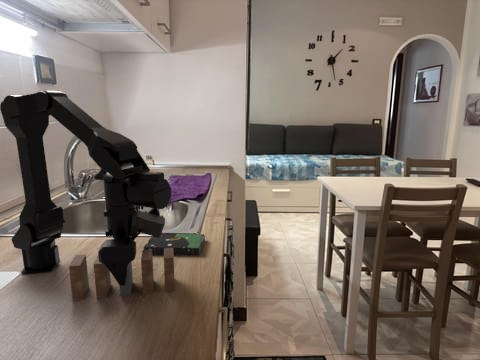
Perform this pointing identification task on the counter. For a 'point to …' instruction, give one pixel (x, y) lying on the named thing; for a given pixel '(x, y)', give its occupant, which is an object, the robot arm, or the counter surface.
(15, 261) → the counter surface
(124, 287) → the domino
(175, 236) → the disk drive
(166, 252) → the domino
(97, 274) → the domino
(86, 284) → the domino
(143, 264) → the domino
